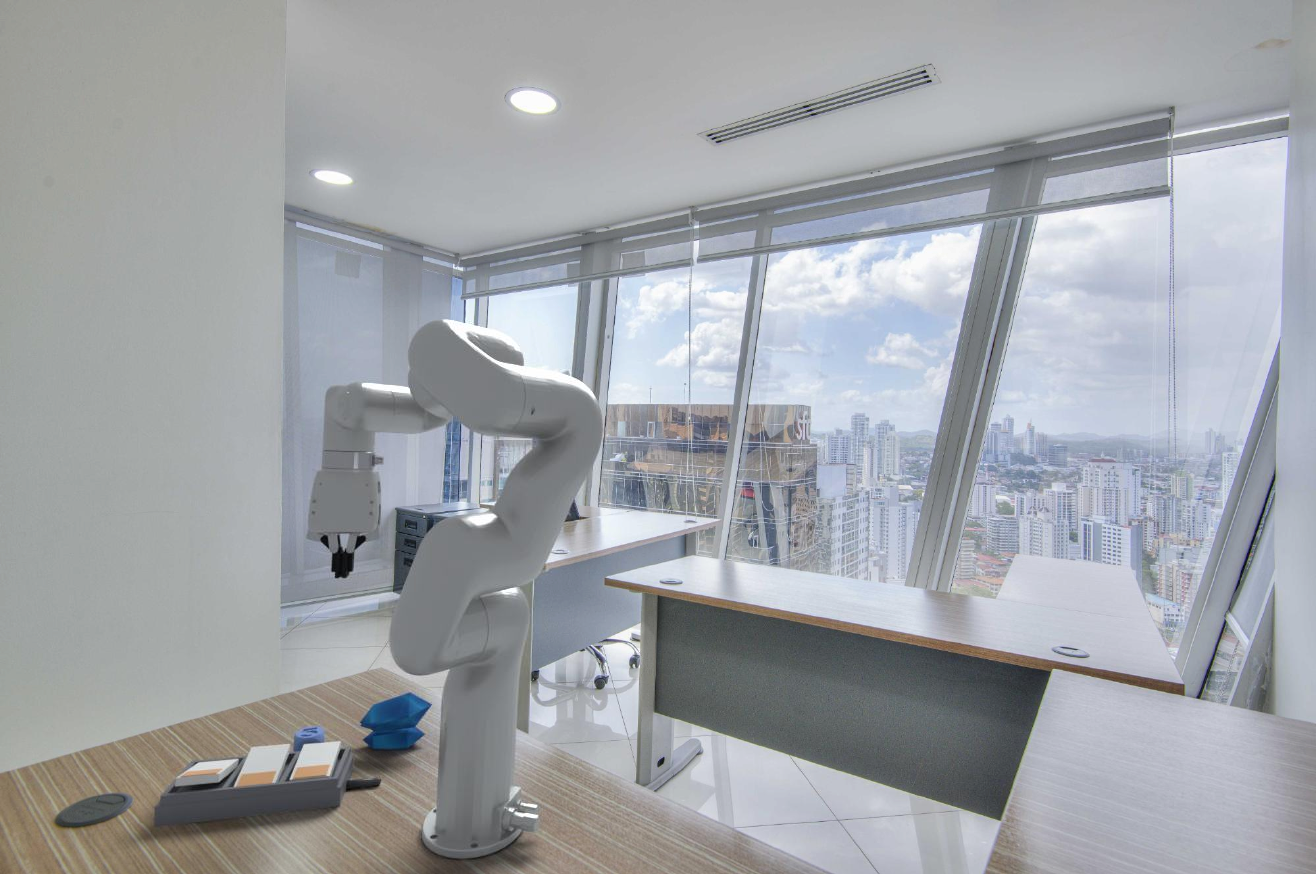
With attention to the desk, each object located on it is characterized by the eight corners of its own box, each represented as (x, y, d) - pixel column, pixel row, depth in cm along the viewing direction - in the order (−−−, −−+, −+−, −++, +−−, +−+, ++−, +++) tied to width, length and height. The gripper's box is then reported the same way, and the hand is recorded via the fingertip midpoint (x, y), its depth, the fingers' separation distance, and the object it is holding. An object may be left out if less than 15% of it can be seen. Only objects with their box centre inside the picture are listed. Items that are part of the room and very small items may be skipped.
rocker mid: (290, 750, 88) (290, 743, 87) (275, 791, 81) (274, 783, 81) (252, 753, 86) (251, 746, 86) (233, 795, 80) (232, 787, 80)
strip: (385, 768, 92) (386, 743, 92) (376, 802, 84) (377, 774, 84) (186, 787, 85) (188, 760, 85) (153, 826, 76) (155, 796, 77)
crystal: (359, 695, 102) (434, 677, 104) (369, 746, 102) (444, 727, 104) (345, 715, 94) (425, 695, 96) (356, 770, 94) (436, 748, 97)
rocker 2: (340, 748, 90) (340, 740, 89) (329, 783, 83) (329, 775, 83) (304, 751, 88) (303, 743, 88) (289, 787, 82) (289, 779, 82)
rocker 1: (237, 768, 86) (238, 757, 86) (218, 783, 79) (219, 772, 80) (197, 771, 85) (198, 761, 85) (174, 788, 78) (176, 776, 78)
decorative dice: (323, 749, 97) (324, 724, 97) (322, 761, 94) (324, 735, 94) (294, 754, 95) (295, 728, 95) (292, 766, 92) (293, 739, 92)
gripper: (400, 463, 105) (395, 571, 104) (302, 460, 101) (296, 572, 100) (395, 465, 98) (389, 580, 97) (289, 461, 93) (282, 582, 93)
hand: (342, 576), depth 99 cm, fingers closed
